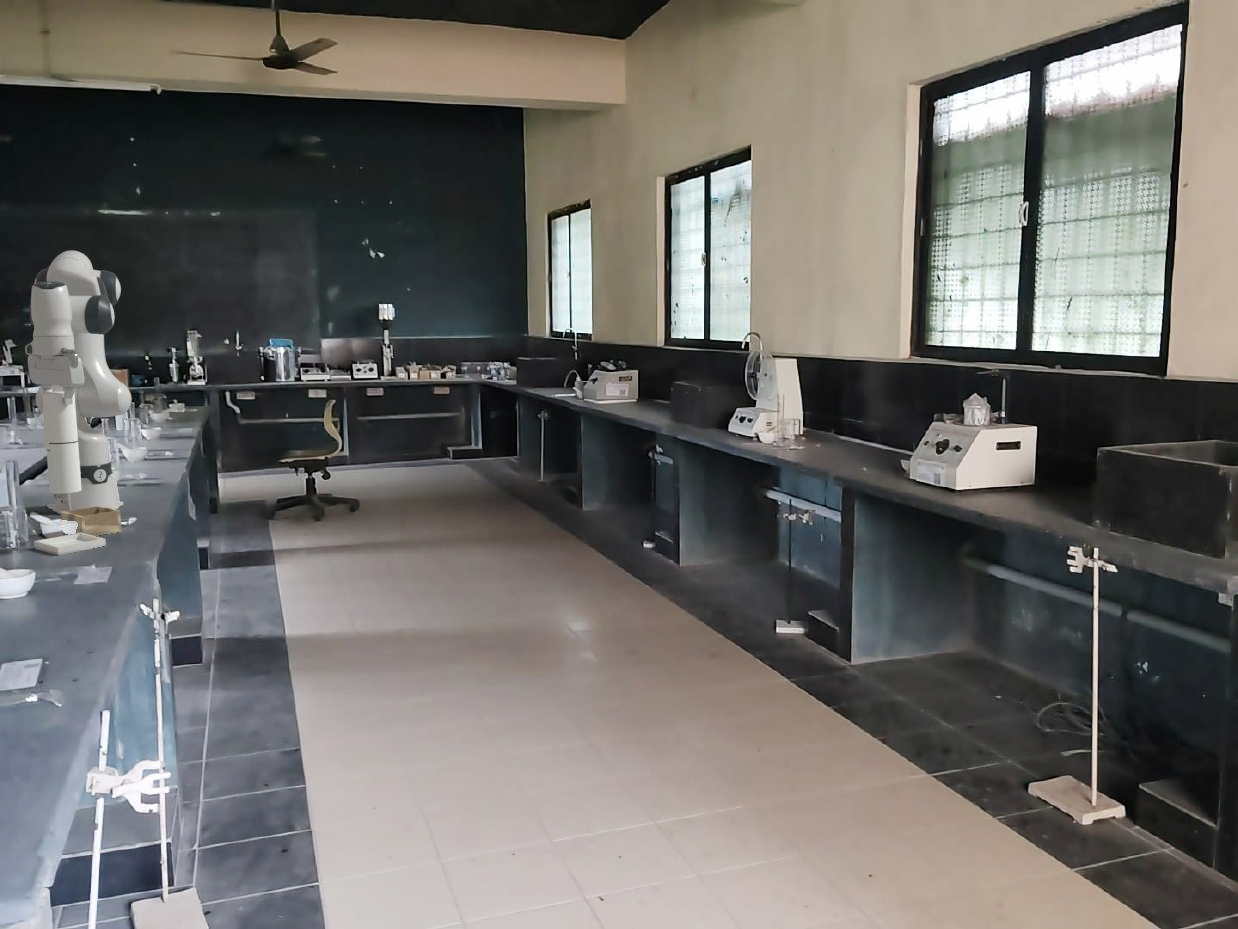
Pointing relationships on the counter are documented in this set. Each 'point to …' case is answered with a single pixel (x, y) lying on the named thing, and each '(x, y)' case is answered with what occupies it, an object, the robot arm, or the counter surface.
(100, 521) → the holder
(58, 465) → the cylindrical container
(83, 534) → the tray
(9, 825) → the counter surface
